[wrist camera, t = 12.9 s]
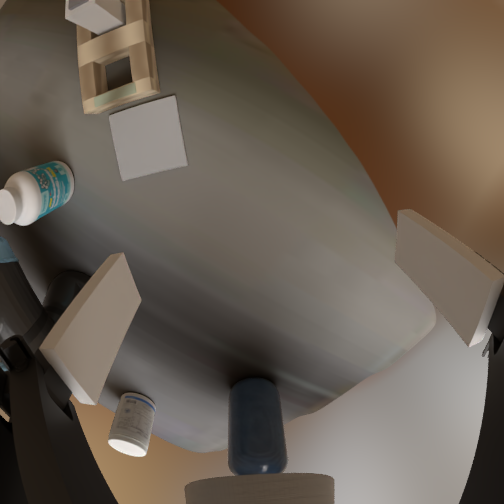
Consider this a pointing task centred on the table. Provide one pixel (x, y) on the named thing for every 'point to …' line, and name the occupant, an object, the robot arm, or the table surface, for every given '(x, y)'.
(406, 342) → the table surface
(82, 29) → the socket block
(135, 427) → the supplement tub
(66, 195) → the pill bottle
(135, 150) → the mat
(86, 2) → the plug
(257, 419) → the lamp
